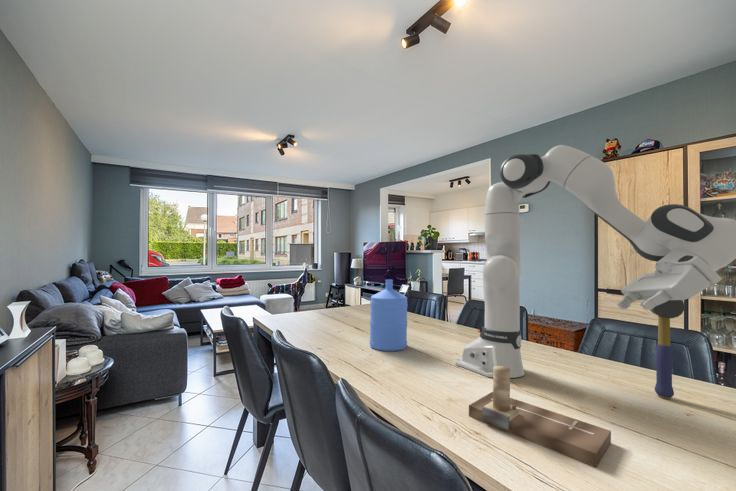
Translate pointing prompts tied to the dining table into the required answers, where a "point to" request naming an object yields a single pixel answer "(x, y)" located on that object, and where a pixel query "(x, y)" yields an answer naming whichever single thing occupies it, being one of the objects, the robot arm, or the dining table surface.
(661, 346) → the rubber mallet
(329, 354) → the dining table surface
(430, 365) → the dining table surface
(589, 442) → the walnut board
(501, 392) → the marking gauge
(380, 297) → the water jug
